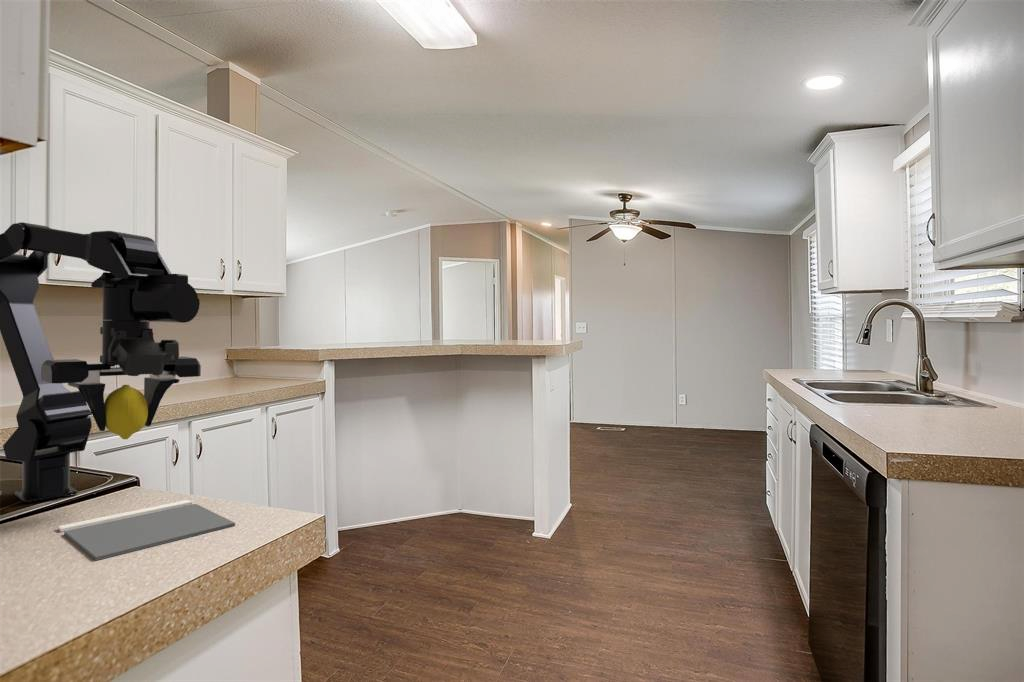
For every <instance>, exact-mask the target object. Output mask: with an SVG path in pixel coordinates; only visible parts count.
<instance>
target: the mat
mask: <svg viewBox="0 0 1024 682" xmlns="http://www.w3.org/2000/svg"><path fill="white" fill-rule="evenodd" d="M235 526H236V522H234V521H232V520H230V519H228V518H226V517H224V516H223V515H220V514H218V513H216V512H213V511H212V510H210V509H208V508H206V507H203V506H202V505H199V504H198V503H192V505H187V506H182V507H178V508H173V509H168V510H163V511H159V512H154V513H149V514H144V515H140V516H135V517H130V518H125V519H121V520H116V521H111V522H106V523H102V524H97V525H92V526H87V527H82V528H78V529H73V530H68V531H64V532H63V535H64V536H66V537H67V538H68V539H69V540H70V541H71V542H73V543H74V544H75V545H76V546H78V547H79V548H80V549H81V550H83V551H84V552H85V553H86V554H87V555H88V556H90V557H91V558H92V559H94V560H95V561H99V560H104V559H107V558H111V557H116V556H119V555H123V554H127V553H132V552H136V551H140V550H143V549H144V550H145V549H148V548H152V547H156V546H160V545H164V544H168V543H172V542H176V541H179V540H184V539H188V538H191V537H196V536H199V535H204V534H207V533H212V532H216V531H219V530H224V529H227V528H231V527H235Z"/></svg>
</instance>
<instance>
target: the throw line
mask: <svg viewBox="0 0 1024 682" xmlns="http://www.w3.org/2000/svg"><path fill="white" fill-rule="evenodd" d="M192 504H193V501H191V500H189V499H185V500H180V501H175V502H171V503H170V502H169V503H165V504H160V505H156V506H155V505H154V506H149V507H146V508H140V509H135V510H131V511H126V512H125V511H124V512H121V513H120V512H119V513H115V514H111V515H106V516H102V517H97V518H91V519H87V520H82V521H77V522H76V521H75V522H71V523H67V524H66V523H65V524H62V525H58V526H57V530H59V532H60V533H64V531H68V530H73V529H78V528H82V527H87V526H92V525H97V524H102V523H106V522H111V521H116V520H121V519H125V518H130V517H135V516H140V515H144V514H149V513H154V512H159V511H163V510H168V509H173V508H178V507H182V506H187V505H192Z"/></svg>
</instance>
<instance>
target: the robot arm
mask: <svg viewBox="0 0 1024 682" xmlns="http://www.w3.org/2000/svg"><path fill="white" fill-rule="evenodd" d="M20 250H26V251H32V252H31V253H30V254H29V255H28V256H26V255H24V254H18V253H19V251H20ZM16 253H17V254H16ZM50 254H54V255H60V256H65V257H71V258H76V259H81V260H84V261H86V263H87V264H88V265H90V266H91V267H94V268H96V269H98V270H101V271H104V272H102V274H101V275H100V277H98V278H96V279H94V280H93V281H92V283H91V285H90V286H91V288H93V289H102V326H100V327H99V329H100V331H99V332H100V333H99V334H100V335H102V340H101V341H102V347H101V348H102V349H101V350H102V351H101V353H102V354H101V355H99V360H100V361H99V363H87V360H82V359H77V358H74V359H73V358H72V359H70V358H68V359H54V357H53V354H52V351H51V348H50V345H49V343H48V341H47V337H46V335H45V332H44V331H45V330H44V328H43V325H42V323H41V320H40V318H39V315H38V312H37V309H36V307H35V304H34V300H35V298H36V296H37V293H38V290H39V289H40V281H39V277H40V276H41V275H42V274H43V273H45V271H46V270H47V269H48V267H49V266H48V265H49V263H48V259H49V257H48V256H49V255H50ZM199 309H200V299H199V298H198V294H197V292H196V290H195V288H194V286H192V285H191V284H190V283H189V276H188V275H187V274H182V273H172V271H170V268H169V267H168V265H167V264H166V262H165V260H164V259H163V257H162V255H161V254H160V252H159V250H158V248H157V245H156V241H155V240H154V239H153V238H151V237H150V236H149V237H148V236H143V235H137V234H133V233H126V232H119V231H112V230H100V231H99V230H98V231H91V232H90V233H79V232H74V231H67V230H61V229H55V228H50V227H49V226H46V225H40V224H35V223H30V222H29V223H28V222H22V221H21V222H20V221H19V222H18V223H16V222H15V223H12V224H10V226H9V227H7V229H6V230H5V231H4V232H2V233H1V234H0V335H1V338H2V340H3V342H4V346H5V348H6V351H7V353H8V357H9V359H10V361H11V362H10V363H11V366H12V368H13V371H14V373H15V377H16V380H17V382H18V385H19V388H20V391H21V393H22V399H21V403H20V405H19V408H18V411H17V413H16V422H17V428H16V430H15V431H14V432H13V433H12V434H11V436H10V437H8V439H7V440H6V441H5V442H4V444H3V446H2V448H3V451H4V456H5V459H6V460H9V461H18V462H22V467H21V468H22V469H21V470H22V474H21V475H22V480H21V481H22V485H21V486H22V487H21V488H22V489H20V490H16V491H14V496H16V497H17V498H18V499H19V500H21V501H22V500H23V501H24V502H29V503H31V502H30V501H35V502H37V501H36V500H41V501H44V500H43V499H47V500H49V499H48V498H52V499H55V498H54V497H58V498H60V497H59V496H64V497H66V496H65V495H70V496H72V495H71V494H75V495H77V494H76V493H78V491H79V490H77V489H76V488H75V487H73V486H71V483H70V482H71V477H70V474H71V473H70V472H71V453H77V452H83V451H85V449H86V446H87V442H88V439H89V435H90V433H91V430H92V427H93V423H92V419H91V418H92V417H93V419H94V421H95V423H96V425H97V428H98V430H99V431H101V432H105V431H106V426H105V424H106V418H105V407H104V403H105V397H104V393H105V390H106V389H105V388H106V383H103V382H101V377H111V376H113V377H114V376H129V377H138V376H140V375H149V377H144V379H143V380H144V381H143V382H144V384H143V388H144V389H143V395H144V396H145V398H146V401H147V405H148V417H147V420H146V423H145V425H144V426H145V427H151V425H152V424H153V423H152V422H153V421H154V418H155V416H156V413H157V411H158V408H159V405H160V403H161V401H162V399H163V397H164V395H165V393H166V392H167V391H168V389H169V388H171V386H172V385H173V384H179V383H180V379H179V378H194V377H195V378H197V377H201V373H202V372H201V370H202V369H201V367H202V365H201V363H200V361H199V360H198V359H197V358H196V357H191V356H190V357H189V356H180V346H179V345H180V344H179V341H177V340H176V339H162V340H160V342H156V341H155V339H154V332H153V330H154V329H153V328H150V322H153V323H158V322H159V323H182V324H185V323H189V322H190V321H192V320H194V318H196V316H197V314H198V312H199ZM176 376H177V377H179V378H177V377H176ZM64 384H67V385H68V386H69V387H72V388H75V389H78V390H75V391H71V390H69V389H68V388H66V386H65V385H64ZM91 416H92V417H91ZM23 501H22V502H23ZM24 502H23V503H24Z"/></svg>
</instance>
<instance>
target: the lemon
mask: <svg viewBox="0 0 1024 682" xmlns="http://www.w3.org/2000/svg"><path fill="white" fill-rule="evenodd" d="M104 407H105V418H106V424H105V429H107V430H108V431H109V432H110V433H111V434H114V435H117V436H118V437H120V438H121V439H123V440H128V439H129V438H130V437H132V435H134V434H136V433H138V432H139V431H141V430H142V429H143V428H144V426H145V423H146V420H147V417H148V405H147V401H146V398H145V396H144V393H142V392H141V391H140V390H139V389H137V388H135V387H133V386H132V387H131V386H130V385H129V384H123V385H121V387H119V388H116V389H114V390H113V391H112V392H110V393H109V394H108V395H107V396H106V399H104Z"/></svg>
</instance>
